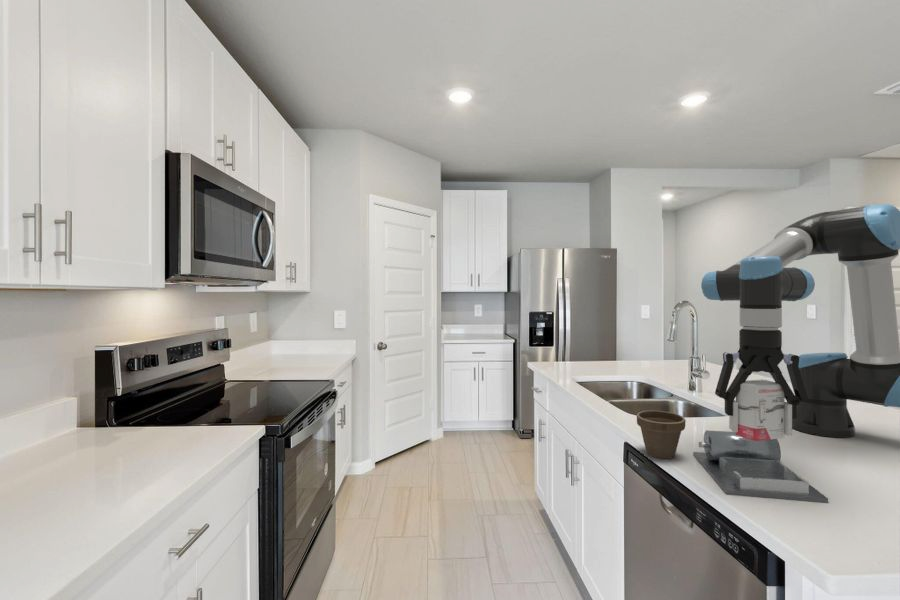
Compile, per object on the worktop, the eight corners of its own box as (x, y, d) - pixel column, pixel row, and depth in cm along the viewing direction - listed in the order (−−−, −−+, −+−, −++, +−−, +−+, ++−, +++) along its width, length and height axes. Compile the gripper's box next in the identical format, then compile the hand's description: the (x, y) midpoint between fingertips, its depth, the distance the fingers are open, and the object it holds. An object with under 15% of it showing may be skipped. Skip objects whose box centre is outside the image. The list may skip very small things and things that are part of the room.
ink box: (754, 442, 93) (755, 385, 93) (733, 435, 98) (734, 381, 98) (785, 438, 95) (786, 383, 95) (763, 431, 100) (764, 379, 100)
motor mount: (773, 460, 110) (773, 421, 110) (828, 502, 88) (828, 454, 88) (693, 455, 114) (693, 417, 114) (726, 494, 92) (725, 447, 92)
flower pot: (683, 466, 107) (683, 424, 107) (633, 457, 113) (632, 418, 113) (687, 451, 117) (687, 413, 117) (640, 444, 123) (640, 408, 123)
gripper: (810, 328, 97) (809, 430, 97) (698, 326, 103) (698, 423, 103) (830, 330, 90) (829, 441, 90) (709, 328, 95) (708, 433, 95)
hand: (759, 431), depth 96 cm, fingers closed on ink box, 9 cm apart
